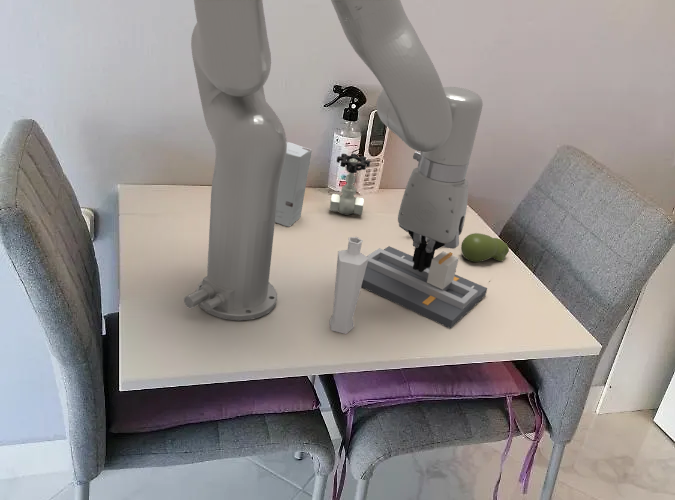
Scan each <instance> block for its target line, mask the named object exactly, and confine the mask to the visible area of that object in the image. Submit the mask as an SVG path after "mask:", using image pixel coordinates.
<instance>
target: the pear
mask: <svg viewBox="0 0 675 500" xmlns="http://www.w3.org/2000/svg"><path fill="white" fill-rule="evenodd" d="M460 246H461V247H460V250H461V254H462V255H463V257H464V258H465V259H466V260H468V261H470V262H473V263H478V262H484V261H486V260H490V259H491V258H492V259H495V260H496V261H499V262H502V260H503V261H504V260H505V259H506V256H507V255H508V254H509V251H510V247H509V246H508V244H507V243H506V242H504V241H503V240H502V239H501V238H498V237H492V236H490V235H487V234H484V233H479V232H478V233H477V232H475V233H470V234H468V235H467V236H465V238H463V240H462V242H461V245H460Z"/></svg>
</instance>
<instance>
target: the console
mask: <svg viewBox="0 0 675 500" xmlns="http://www.w3.org/2000/svg"><path fill="white" fill-rule="evenodd" d="M366 256H367V257H368V258H369V259H368V263H367V267H366V270H365V274H364V278H363V282H362V285H361V288H363V289H365V290H368V291H369V292H371V293H374V294H376V295H378V296H380V297H382V298H384V299H387V300H389V301H391V302H393V303H394V304H397V305H400V306H401V307H404V308H405V309H407V310H409V311H413V312H414V313H416V314H418V315H421V316H423V317H425V318H427V319H430V321H431V320H432V321H433V322H435V323H438V324H440V325H442V326H444V327H447V328H448V329H452V328H453V327H454V326H455V325H456V324H457V323H458V322H459V321H460V320H461V319H462V318H463V317H464V316H465V315H467V313H469V311H471V310H472V309H473V308H474V307H475V306H476V305H477V304H478V303H479V302H480V301H481V300H482V299H484V298H485V297H486V296H487V295H486V294H487V292H488V287H485V286H483V285H481V284H478V283H476V282H474V281H471V280H470V279H467V278H465V277H463V276H459V275H457V274H455V275H454V279H453V281H452V282H451V283H450V286H449V289H448V290H446V291H444V290H442V289H439V288H437V287H435V286H433V285H430V284H429V283H427V279H428V275H429V271H430V267H429V268H427V269H425V270H424V271H423V272H419V271H418V270H414V269H413V265H414V262H413V255H411V254H409V253H406V252H404V251H401V250H399V249H397V248H394V247H392V246H390V245H388V246H387V247H385V248H384V249H383V248H380V247H379V248H377V249H376V250H374V251H373V252H371V253H369V254H368V255H366Z"/></svg>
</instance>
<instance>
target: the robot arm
mask: <svg viewBox="0 0 675 500" xmlns="http://www.w3.org/2000/svg"><path fill="white" fill-rule="evenodd" d="M330 2H331V3H332V6H333V8H334V11H335V13H336V16H337V19H338V21H339V23H340V26H341V28H342V30H343V33H344V35H345V37H346V39H347V41H348V43H350V46H351V47H352V49H353V50H354V52H355V53H356V54H357V56H358V57H359V59H361V61H362V62H363V63H364V64H365V65H366V66H367V68H369V70H370V71H371V72H372V74H373V75H374V76H375V78H376V79H377V81H378V82H379V84H380V85H381V87H382V90H381V91H380V93H379V95H378V96H377V99H376V112H377V115H378V117H379V119H380V121H381V122H382V123H383V124H384V125H385V126H386V128H387V129H389V130H390V131H391V132H392V133H394V134H395V136H397V137H398V138H399V139H400V140H401V141H402V142H403V143H404V144H405V145H407V146H408V147H409V148H411V149H412V150H415V151H414V153H413V156H412V157H413V160H416V161H417V162H418V164H417V167H416V168H413V170H412V172H411V173H410V176H409V179H408V181H407V183H406V187H405V190H404V192H403V196H402V198H401V199H402V200H401V201H400V202H401V203H400V207H399V209H398V215H397V222H398V227H399V228H401V229H402V230H404V232H406V233H408V235H409V236H410V239H411V240H412V245H413V247H414V252H413V255H412V256H413V262H414V265H413V269H414V270H418V271H419V272H423V271H424V270H425V269H427V268H429V267H430V266H431V262H432V259H433V258H434V257H435V252H436V250H438V249H441V248H446V249H454V250H455V249H456V248H457V247H459V245H460V235H461V234H462V232H463V229H464V224H465V220H466V215H467V209H468V208H467V207H468V199H469V180H467V179H466V177H467V172H468V169H469V164H470V160H471V155H472V153H473V149H474V144H475V141H476V140H475V139H476V135H477V132H478V127H479V123H480V119H481V114H482V111H483V106H484V104H483V99H482V97H481V96H480V95H479V94H478V93H476V92H475V91H473V90H471V89H466V88H463V87H457V86H445V87H444V86H443V84H442V81H441V77H440V76H439V73H438V71H437V69H436V67H435V65H434V63H433V60H432V59H431V57H430V55H429V54H428V52H427V50H426V48H425V47H424V44H423V43H422V41H421V40H420V38H419V36H418V33H417V32H416V30H415V28H414V26H413V24H412V22H411V21H410V20H409V18H408V16H407V14H406V11H405V9H404V7H403V4H402V2H401V0H330ZM193 5H194V10H195V17H196V18H195V19H196V24H195V25H194V27H193V31H192V32H191V39H190V41H191V43H190V45H191V46H190V48H191V56H192V61H193V67H194V72H195V73H194V74H195V77H196V81H197V88H198V92H199V93H198V94H199V97H200V102H201V103H200V104H201V108H202V112H203V116H204V121H205V124H206V127H207V129H208V131H209V134H210V136H211V139H212V141H213V144H214V147H215V148H214V149H215V163H214V168H213V169H214V170H213V173H212V181H211V190H210V191H211V192H210V214H209V215H210V216H209V229H208V231H209V233H208V251H207V265H206V266H207V271H206V276H204V277H202V280H201V281H200V282H199V283H198V284H197V287H196V288H195V291H194V292H192V293H190V294H188V295H186V296H185V297H184V298H183V303H184V305H185V306H186V307H187V308H188V309H194V308H195V307H197V306H199V307H200V308H201V309H202V310H203V311H205V312H206V313H208V314H210V315H212V316H213V317H215V318H219V319H225V320H230V321H249V320H255V319H258V318H261V317H264V316H265V315H268V313H271V311H273V309H274V308H275V307H276V305H277V301H278V293H277V289H276V288H275V286H274V285H273V284H271V283H270V274H271V273H270V271H271V262H272V253H273V243H274V234H275V226H276V222H275V216H276V205H277V196H278V189H279V183H280V178H281V174H282V170H283V166H284V162H285V158H286V151H287V142H288V141H287V135H286V132H285V128H284V125H283V123H282V122H281V120H280V117H279V116H278V114H277V113H276V112H275V110H274V109H273V108H272V106H271V105H270V104H269V103H268V102H267V99H266V95H265V89H264V86H265V84H266V83H267V80H268V78H269V75H270V72H271V66H272V56H271V53H272V52H271V48H270V42H269V38H268V31H267V24H266V18H265V12H264V11H265V10H264V3H263V0H193ZM427 238H429V241H427Z"/></svg>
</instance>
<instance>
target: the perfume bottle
mask: <svg viewBox="0 0 675 500" xmlns="http://www.w3.org/2000/svg"><path fill="white" fill-rule="evenodd" d="M362 243H363V239H361V238H359V237H357V236H349V237H348V244H347V248H346V249H342V250H338V251H337V260H336V273H335V282H334V283H335V285H334V286H335V287H334V295H333V308H332V315H331V317H330V319H329V328H330V331H333V332H335V333H336V332H337V333H342V334H345V335H346V334H348V333H349V332H350V331H352V330H353V329H354V326H355V325H354V315H355V312H356V308H357V304H358V300H359V296H360V294H361V293H360V292H361V289H362V287H361V285H362V282H363V278H364V274H365V270H366V267H367V263H368V259H369V258H368V257H367V256H368V255H365V254H364V253H362V252H361V248H362Z"/></svg>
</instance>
